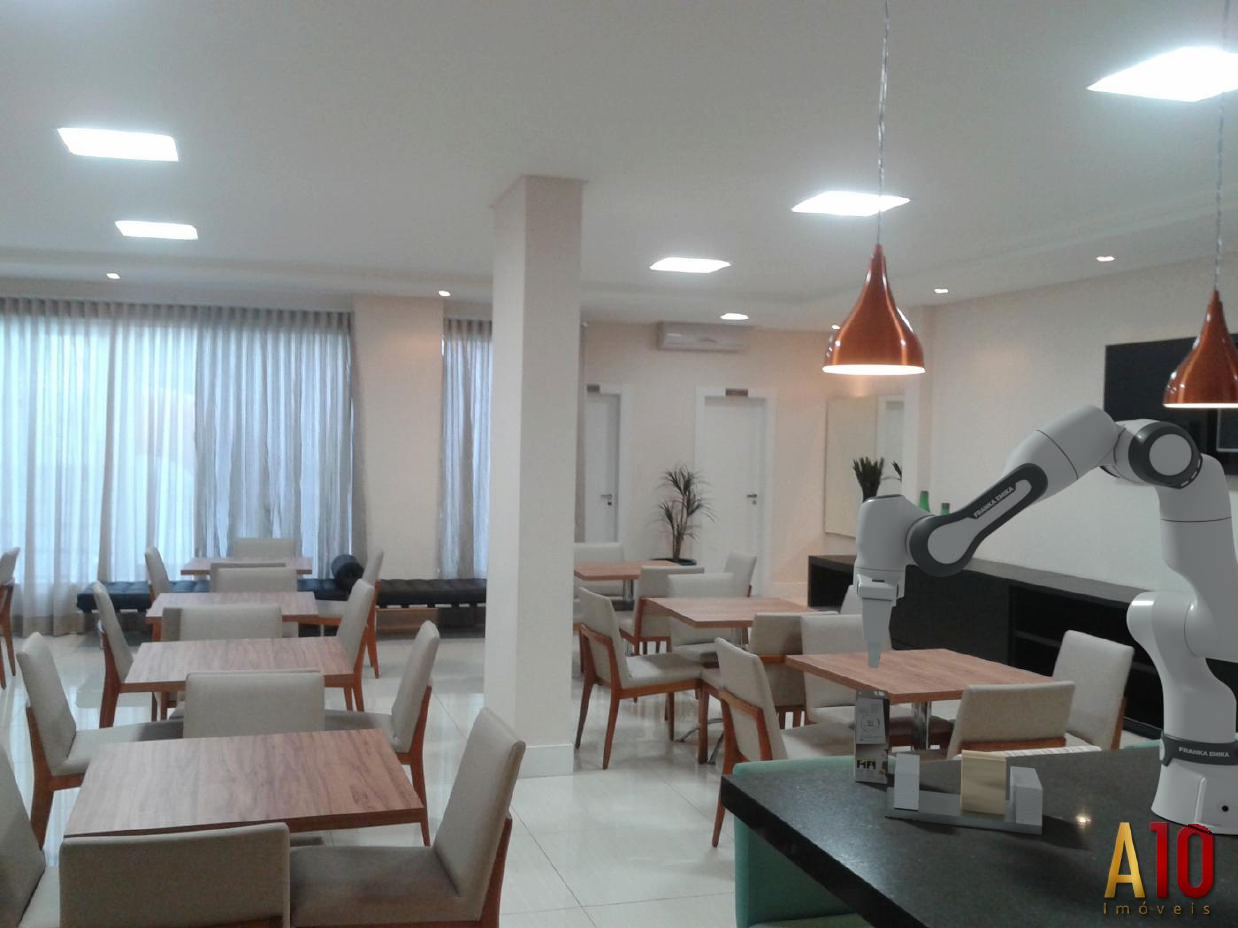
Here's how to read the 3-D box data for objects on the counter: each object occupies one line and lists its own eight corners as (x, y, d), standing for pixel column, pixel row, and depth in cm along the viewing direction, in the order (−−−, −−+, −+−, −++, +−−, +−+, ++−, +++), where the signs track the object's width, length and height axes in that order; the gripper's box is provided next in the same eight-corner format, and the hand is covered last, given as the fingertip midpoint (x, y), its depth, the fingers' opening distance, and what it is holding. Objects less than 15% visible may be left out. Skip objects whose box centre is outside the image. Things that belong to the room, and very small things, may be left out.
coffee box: (888, 784, 200) (890, 698, 200) (853, 781, 201) (856, 696, 202) (886, 771, 209) (888, 689, 209) (852, 768, 210) (855, 687, 210)
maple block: (960, 801, 186) (961, 749, 186) (1002, 805, 184) (1004, 753, 184) (961, 809, 181) (962, 756, 181) (1004, 814, 179) (1006, 761, 179)
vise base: (1033, 811, 186) (1034, 768, 186) (1041, 834, 174) (1042, 788, 174) (887, 795, 193) (888, 753, 193) (884, 816, 181) (885, 772, 181)
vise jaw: (918, 788, 192) (919, 755, 192) (918, 809, 179) (919, 774, 179) (895, 786, 193) (896, 753, 193) (893, 807, 180) (894, 771, 180)
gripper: (862, 580, 198) (858, 654, 198) (857, 587, 179) (853, 669, 178) (897, 582, 197) (893, 657, 196) (896, 590, 177) (891, 673, 177)
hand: (874, 663), depth 187 cm, fingers open, 8 cm apart
